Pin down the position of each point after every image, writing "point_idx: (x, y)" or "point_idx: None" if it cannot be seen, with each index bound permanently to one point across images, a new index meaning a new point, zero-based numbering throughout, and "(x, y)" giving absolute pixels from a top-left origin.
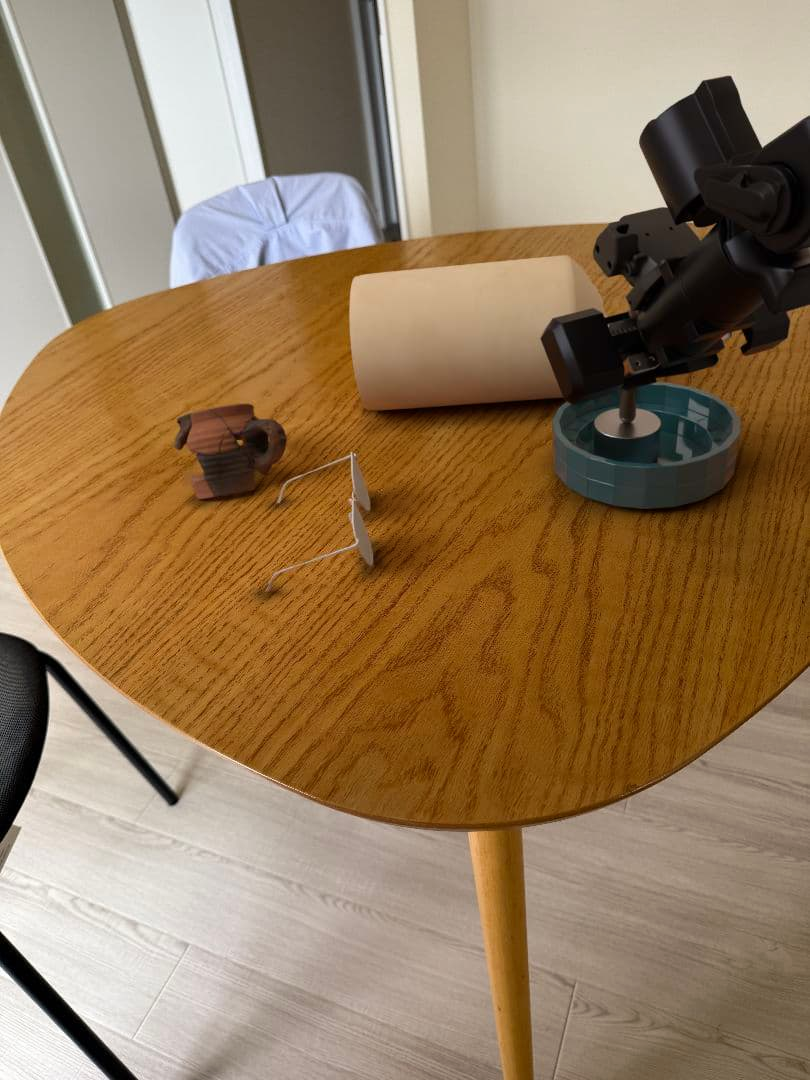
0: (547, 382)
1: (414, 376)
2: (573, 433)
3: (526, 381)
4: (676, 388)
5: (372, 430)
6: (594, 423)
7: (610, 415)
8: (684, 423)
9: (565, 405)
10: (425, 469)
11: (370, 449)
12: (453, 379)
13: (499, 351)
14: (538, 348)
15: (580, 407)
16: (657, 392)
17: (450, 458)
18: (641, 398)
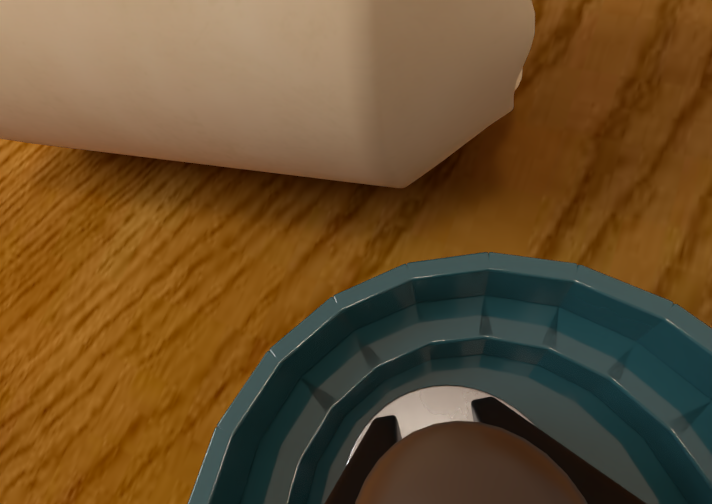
0: (324, 175)
1: (11, 122)
2: (312, 415)
3: (269, 167)
4: (698, 347)
5: (47, 180)
6: (348, 459)
7: (417, 425)
8: (677, 457)
9: (295, 339)
10: (42, 350)
11: (8, 242)
12: (99, 139)
13: (155, 99)
14: (258, 107)
15: (362, 316)
16: (622, 317)
17: (102, 324)
18: (564, 303)
